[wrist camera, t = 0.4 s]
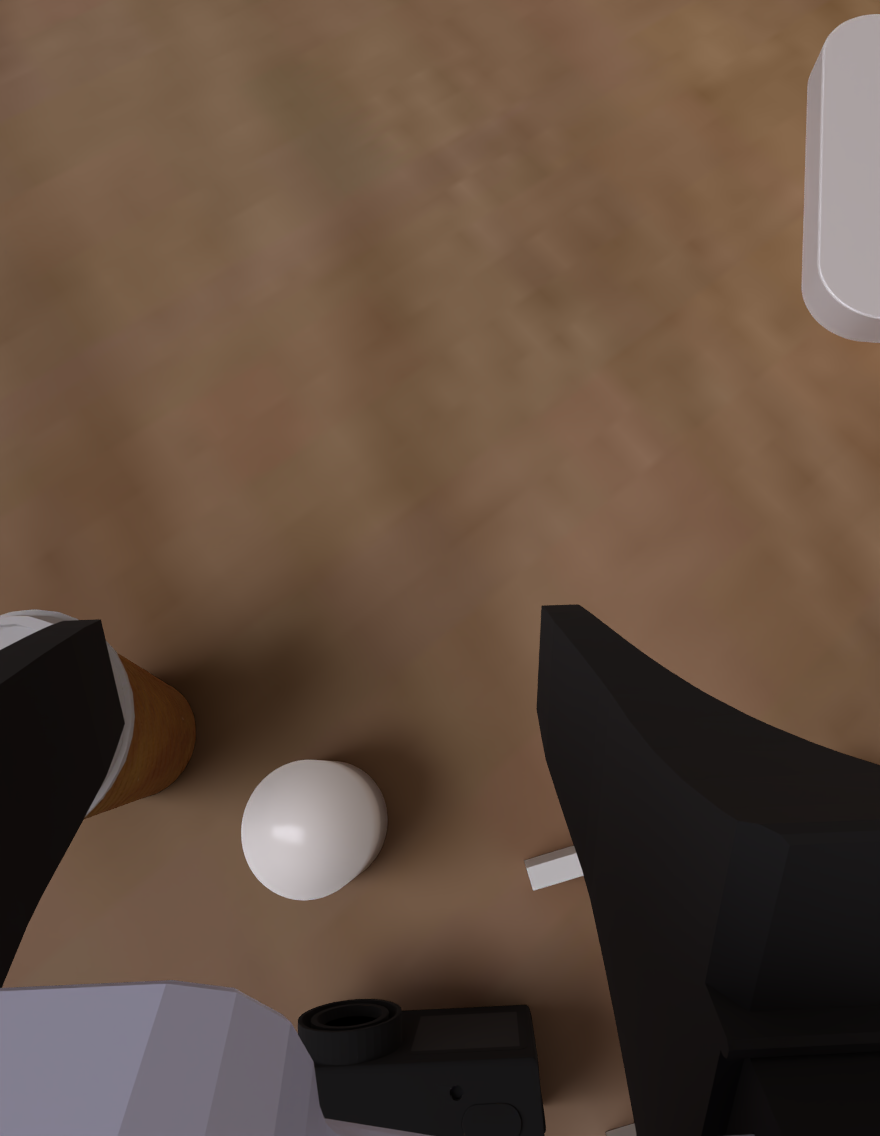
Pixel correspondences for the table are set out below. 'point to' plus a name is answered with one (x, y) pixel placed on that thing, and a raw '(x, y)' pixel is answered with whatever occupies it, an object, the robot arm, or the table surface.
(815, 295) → the computer
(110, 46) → the table surface
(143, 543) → the table surface
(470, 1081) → the digital camera
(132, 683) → the disposable coffee cup
